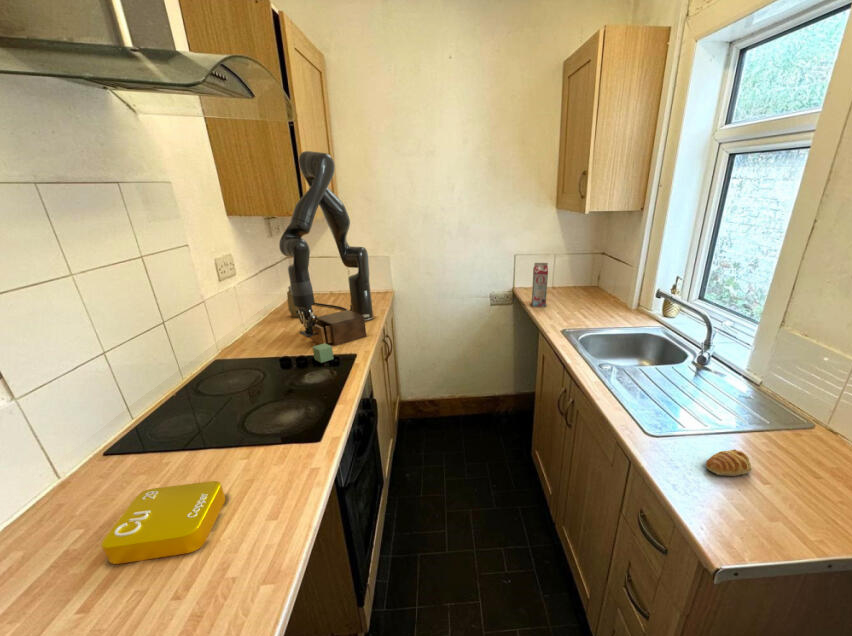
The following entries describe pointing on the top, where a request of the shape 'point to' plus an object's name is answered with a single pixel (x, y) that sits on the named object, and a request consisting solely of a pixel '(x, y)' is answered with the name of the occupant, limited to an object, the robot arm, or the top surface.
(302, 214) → the robot arm
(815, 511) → the top surface
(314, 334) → the drawer
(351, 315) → the cabinet
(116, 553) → the element tile
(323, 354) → the block
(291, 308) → the squeeze bottle
